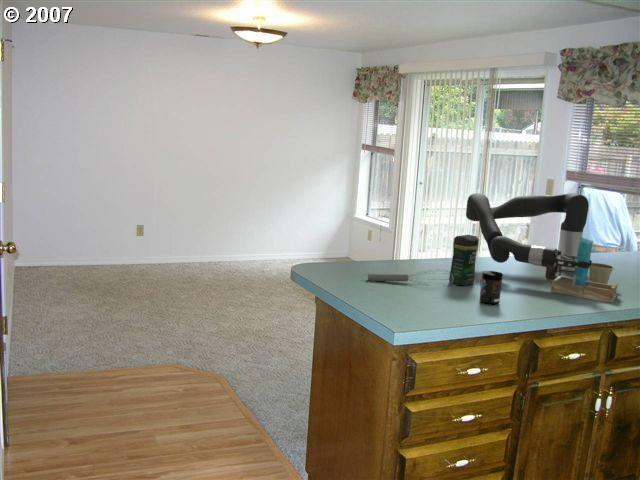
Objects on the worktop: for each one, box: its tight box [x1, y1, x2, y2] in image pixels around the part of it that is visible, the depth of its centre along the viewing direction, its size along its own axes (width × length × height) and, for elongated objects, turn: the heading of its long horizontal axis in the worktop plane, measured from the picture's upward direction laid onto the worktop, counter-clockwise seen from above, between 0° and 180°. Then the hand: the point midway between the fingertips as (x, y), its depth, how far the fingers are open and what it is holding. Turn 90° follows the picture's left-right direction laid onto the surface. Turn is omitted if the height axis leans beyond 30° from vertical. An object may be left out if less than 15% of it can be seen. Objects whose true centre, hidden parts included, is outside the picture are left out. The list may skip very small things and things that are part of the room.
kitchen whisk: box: [361, 268, 454, 288], centre depth 244 cm, size 6×34×6 cm, turn 88°
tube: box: [572, 236, 594, 286], centre depth 245 cm, size 7×5×19 cm, turn 20°
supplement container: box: [479, 270, 504, 306], centre depth 223 cm, size 7×7×10 cm
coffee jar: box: [448, 234, 479, 286], centre depth 248 cm, size 10×8×19 cm
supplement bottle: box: [545, 249, 563, 280], centre depth 270 cm, size 6×6×11 cm
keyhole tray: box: [550, 275, 619, 304], centre depth 245 cm, size 13×21×5 cm, turn 59°
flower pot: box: [588, 262, 615, 285], centre depth 258 cm, size 9×9×9 cm
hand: (589, 264), depth 243 cm, fingers closed on tube, 5 cm apart
